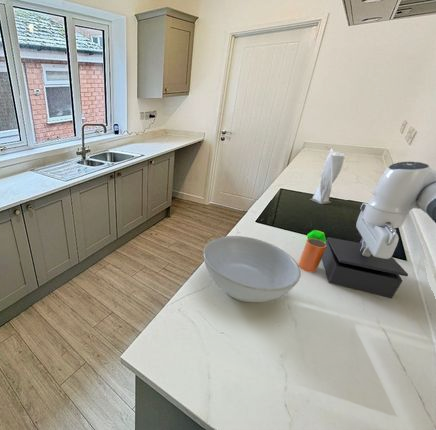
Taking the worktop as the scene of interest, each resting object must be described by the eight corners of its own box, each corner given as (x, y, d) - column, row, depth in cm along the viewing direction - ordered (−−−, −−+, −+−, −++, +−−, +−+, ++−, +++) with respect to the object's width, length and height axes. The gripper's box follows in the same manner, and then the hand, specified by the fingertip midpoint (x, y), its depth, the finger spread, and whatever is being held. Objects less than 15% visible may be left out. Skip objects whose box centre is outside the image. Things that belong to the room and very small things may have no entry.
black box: (390, 300, 80) (402, 280, 76) (327, 284, 86) (336, 266, 83) (372, 267, 94) (382, 249, 90) (319, 256, 100) (326, 239, 97)
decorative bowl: (203, 257, 101) (207, 230, 96) (282, 272, 92) (292, 244, 87) (194, 306, 79) (199, 275, 74) (296, 333, 70) (311, 300, 65)
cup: (314, 266, 95) (325, 240, 90) (317, 275, 90) (328, 249, 85) (296, 262, 97) (305, 237, 92) (298, 270, 93) (307, 244, 88)
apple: (317, 231, 102) (326, 223, 107) (300, 235, 108) (309, 228, 112) (326, 247, 101) (335, 239, 106) (309, 250, 107) (318, 243, 111)
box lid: (407, 276, 75) (408, 274, 74) (339, 262, 81) (340, 259, 81) (382, 249, 90) (383, 247, 90) (326, 238, 96) (327, 237, 96)
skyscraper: (307, 198, 147) (324, 148, 135) (318, 196, 149) (336, 147, 137) (321, 204, 140) (340, 152, 127) (332, 202, 142) (353, 151, 129)
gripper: (413, 234, 68) (389, 276, 75) (385, 204, 84) (367, 240, 91) (381, 229, 71) (361, 270, 77) (360, 201, 87) (344, 236, 93)
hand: (364, 254), depth 84 cm, fingers closed
